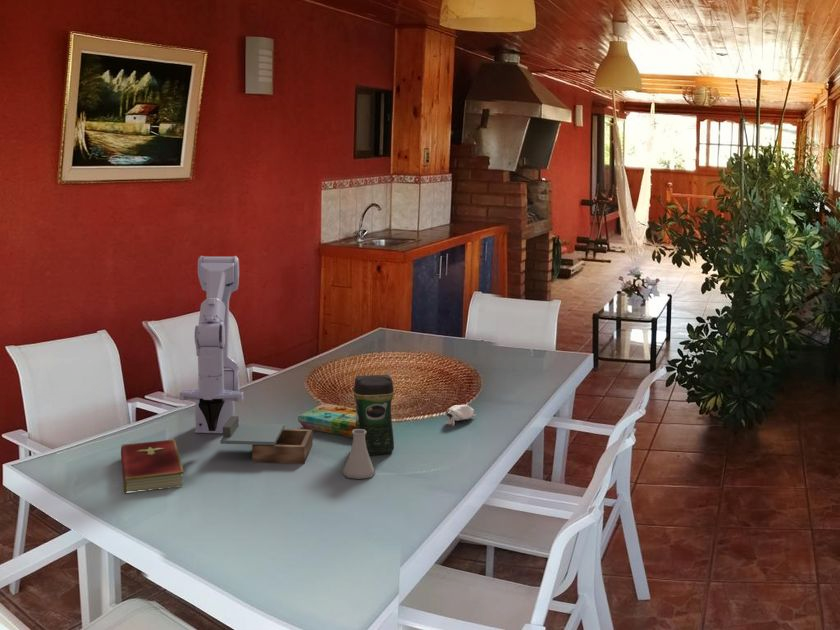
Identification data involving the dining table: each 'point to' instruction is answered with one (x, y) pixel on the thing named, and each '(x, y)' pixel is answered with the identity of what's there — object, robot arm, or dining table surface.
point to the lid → (250, 433)
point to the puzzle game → (330, 419)
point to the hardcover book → (151, 465)
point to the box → (285, 448)
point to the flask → (359, 458)
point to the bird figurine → (459, 413)
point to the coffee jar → (375, 411)
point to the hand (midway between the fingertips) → (212, 429)
